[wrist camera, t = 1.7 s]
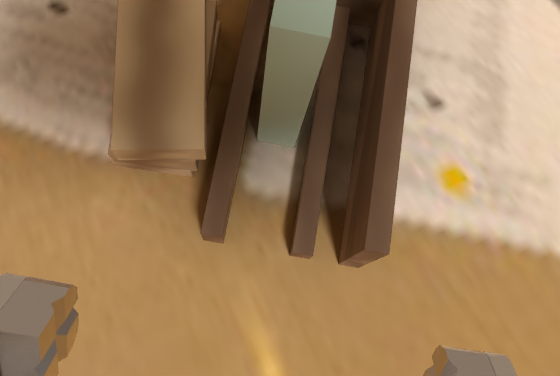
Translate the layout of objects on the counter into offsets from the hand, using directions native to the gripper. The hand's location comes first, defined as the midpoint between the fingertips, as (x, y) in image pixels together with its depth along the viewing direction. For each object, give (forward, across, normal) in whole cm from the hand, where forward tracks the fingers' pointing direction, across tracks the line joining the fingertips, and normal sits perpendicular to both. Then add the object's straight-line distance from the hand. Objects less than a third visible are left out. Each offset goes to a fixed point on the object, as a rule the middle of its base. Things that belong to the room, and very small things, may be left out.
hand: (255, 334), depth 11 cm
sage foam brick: (+30, 0, +6) cm, 31 cm away
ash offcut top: (+27, +9, +4) cm, 29 cm away
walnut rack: (+30, -2, +6) cm, 31 cm away
